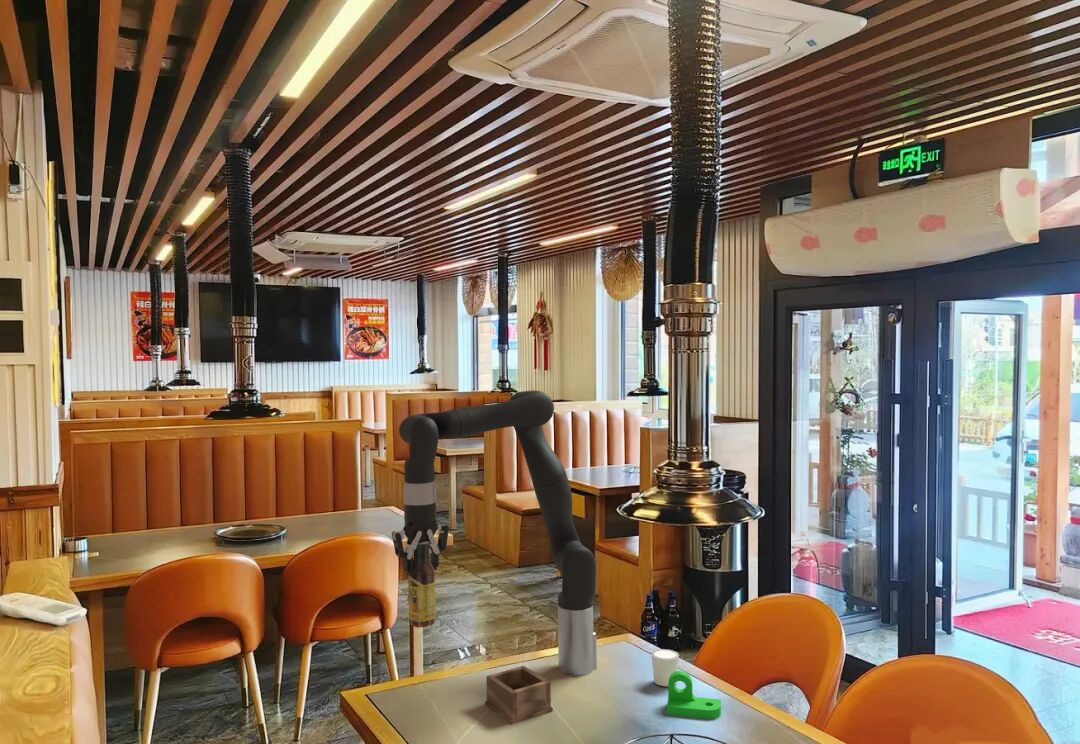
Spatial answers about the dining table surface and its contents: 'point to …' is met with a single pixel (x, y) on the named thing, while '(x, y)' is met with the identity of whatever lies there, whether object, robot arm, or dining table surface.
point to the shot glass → (664, 665)
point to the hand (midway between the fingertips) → (421, 571)
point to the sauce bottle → (421, 588)
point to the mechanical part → (689, 700)
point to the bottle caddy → (518, 694)
